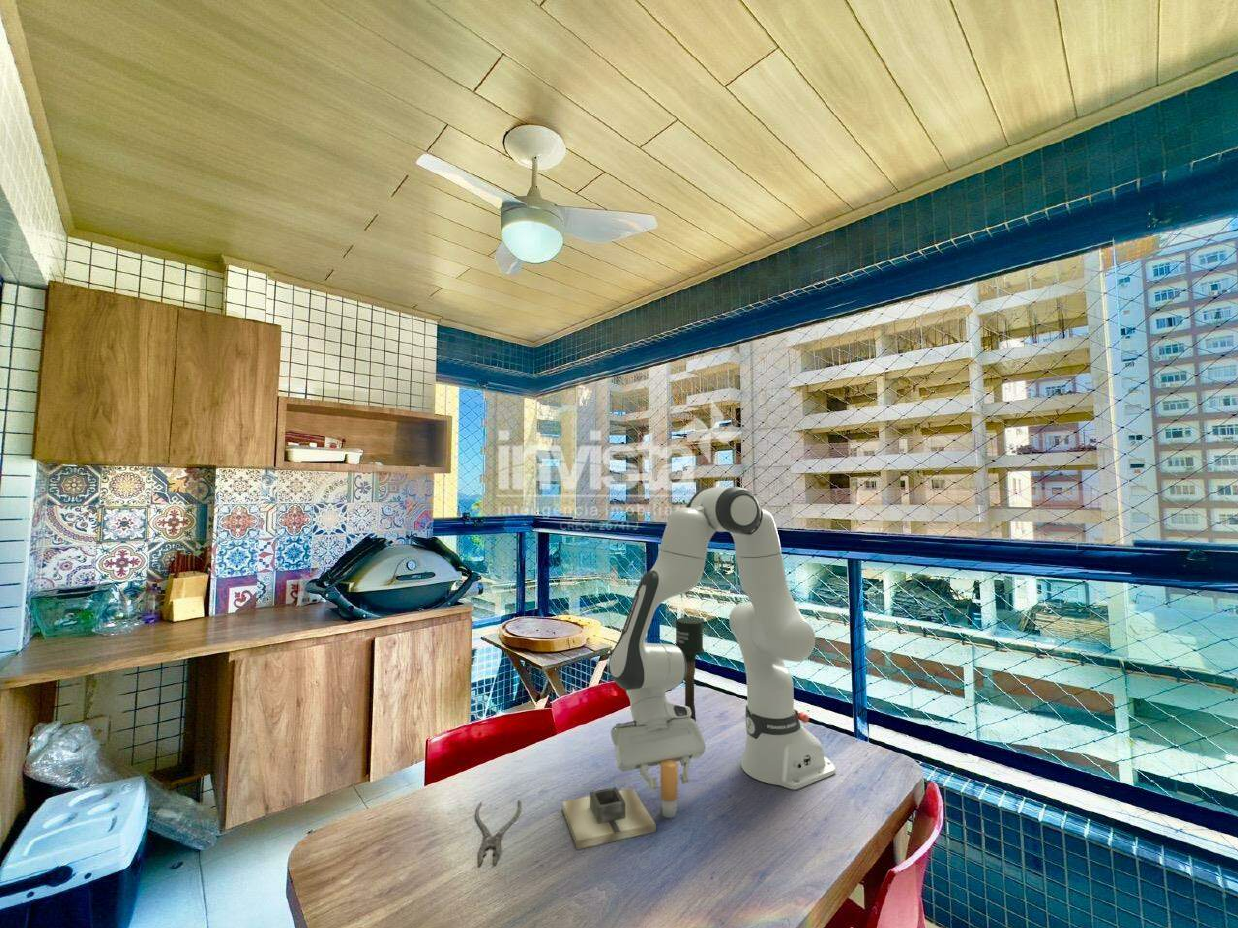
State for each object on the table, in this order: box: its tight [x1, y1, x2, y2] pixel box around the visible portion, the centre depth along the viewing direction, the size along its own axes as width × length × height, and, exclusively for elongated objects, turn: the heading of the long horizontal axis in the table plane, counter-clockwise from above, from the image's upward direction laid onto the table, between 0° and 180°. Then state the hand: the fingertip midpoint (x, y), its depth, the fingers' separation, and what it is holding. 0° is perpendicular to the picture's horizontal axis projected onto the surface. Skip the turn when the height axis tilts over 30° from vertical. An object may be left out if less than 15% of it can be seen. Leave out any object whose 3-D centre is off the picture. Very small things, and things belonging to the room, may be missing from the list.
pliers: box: [474, 798, 523, 868], centre depth 101 cm, size 10×1×20 cm
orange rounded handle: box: [659, 760, 679, 819], centre depth 107 cm, size 4×4×10 cm
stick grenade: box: [675, 616, 705, 723], centre depth 149 cm, size 8×9×30 cm
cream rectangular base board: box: [561, 786, 656, 850], centre depth 104 cm, size 16×13×4 cm
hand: (670, 785), depth 106 cm, fingers open, 6 cm apart
